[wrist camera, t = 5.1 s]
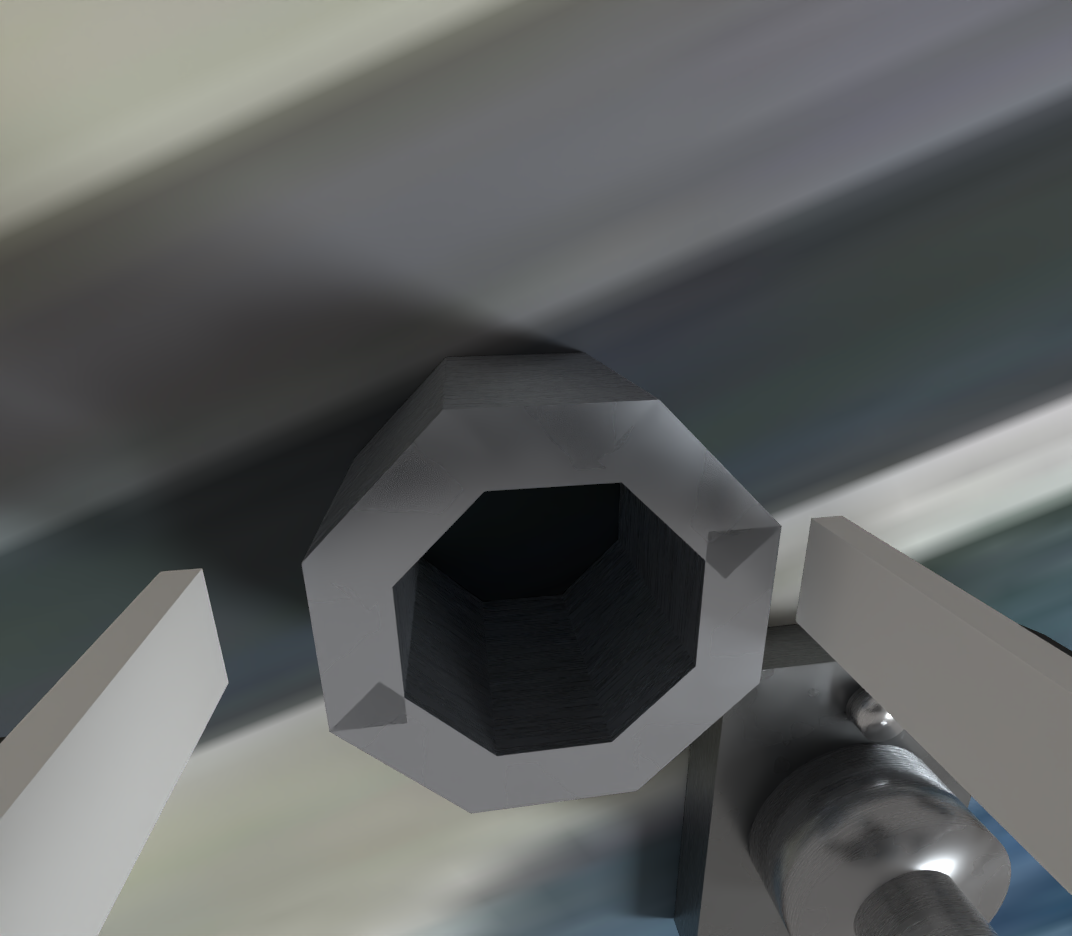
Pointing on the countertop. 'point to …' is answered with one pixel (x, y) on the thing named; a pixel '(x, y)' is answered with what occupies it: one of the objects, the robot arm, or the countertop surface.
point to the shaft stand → (827, 817)
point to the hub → (537, 622)
